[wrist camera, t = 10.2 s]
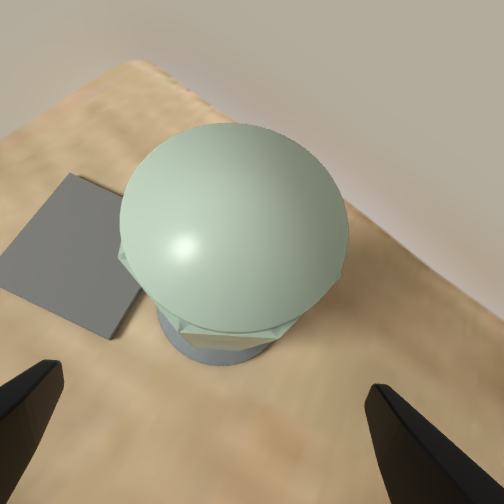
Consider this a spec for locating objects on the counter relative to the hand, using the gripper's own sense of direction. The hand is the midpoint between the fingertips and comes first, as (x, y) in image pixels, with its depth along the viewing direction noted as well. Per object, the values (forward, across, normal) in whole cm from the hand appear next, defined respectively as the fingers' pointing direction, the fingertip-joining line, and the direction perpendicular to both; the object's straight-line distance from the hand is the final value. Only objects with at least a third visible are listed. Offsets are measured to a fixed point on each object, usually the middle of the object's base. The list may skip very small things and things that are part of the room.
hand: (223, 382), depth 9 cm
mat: (+14, +10, +3) cm, 17 cm away
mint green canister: (+12, 0, +5) cm, 12 cm away
